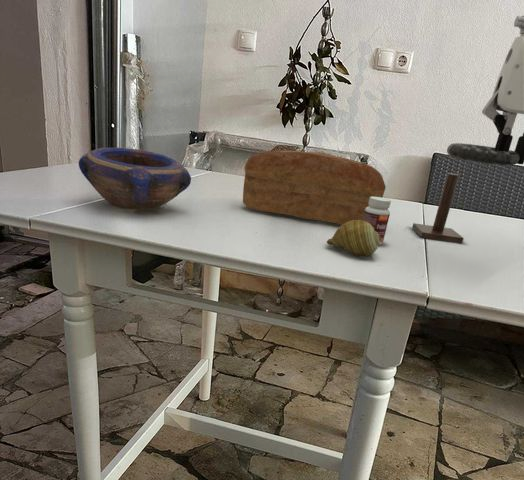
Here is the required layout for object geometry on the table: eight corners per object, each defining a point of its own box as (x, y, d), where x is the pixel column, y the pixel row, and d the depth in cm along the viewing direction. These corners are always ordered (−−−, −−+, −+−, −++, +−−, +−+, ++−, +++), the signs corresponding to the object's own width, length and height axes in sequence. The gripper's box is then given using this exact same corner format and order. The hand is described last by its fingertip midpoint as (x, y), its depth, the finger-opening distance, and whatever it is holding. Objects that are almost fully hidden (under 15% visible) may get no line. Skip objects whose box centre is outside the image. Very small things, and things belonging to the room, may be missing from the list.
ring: (501, 160, 87) (505, 148, 86) (528, 169, 78) (533, 155, 77) (438, 152, 87) (441, 140, 86) (457, 160, 77) (461, 146, 77)
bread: (247, 201, 121) (254, 141, 115) (376, 223, 117) (390, 161, 111) (234, 209, 110) (241, 143, 104) (376, 234, 106) (391, 167, 100)
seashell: (327, 269, 93) (320, 241, 86) (333, 239, 96) (327, 209, 89) (381, 271, 90) (378, 242, 83) (385, 240, 93) (383, 209, 86)
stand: (450, 233, 117) (467, 174, 111) (462, 243, 109) (481, 180, 103) (412, 228, 117) (427, 168, 111) (421, 237, 109) (438, 174, 103)
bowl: (129, 222, 89) (130, 163, 85) (68, 200, 98) (66, 145, 94) (199, 213, 103) (203, 161, 98) (140, 195, 112) (141, 146, 107)
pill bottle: (376, 246, 96) (386, 202, 93) (354, 240, 99) (363, 196, 95) (386, 243, 100) (397, 200, 96) (365, 237, 102) (374, 195, 99)
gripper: (505, 19, 71) (466, 158, 79) (618, 34, 71) (568, 171, 79) (486, 26, 77) (452, 153, 86) (590, 39, 77) (546, 165, 86)
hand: (508, 161), depth 82 cm, fingers closed on ring, 2 cm apart
